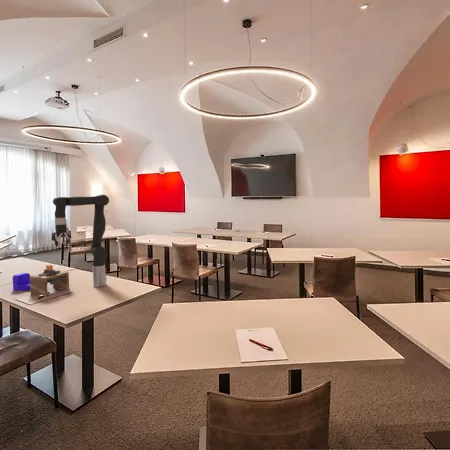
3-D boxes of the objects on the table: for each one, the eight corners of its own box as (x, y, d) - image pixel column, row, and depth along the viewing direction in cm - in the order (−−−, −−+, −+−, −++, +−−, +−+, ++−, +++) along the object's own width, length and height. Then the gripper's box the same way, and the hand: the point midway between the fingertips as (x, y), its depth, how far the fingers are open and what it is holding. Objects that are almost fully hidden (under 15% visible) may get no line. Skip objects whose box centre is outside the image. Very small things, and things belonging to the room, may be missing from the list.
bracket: (13, 290, 229) (12, 275, 228) (26, 286, 240) (25, 272, 239) (30, 292, 224) (29, 277, 223) (43, 288, 234) (42, 273, 233)
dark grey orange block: (48, 281, 228) (47, 264, 227) (56, 283, 224) (55, 265, 223) (43, 283, 224) (42, 265, 223) (51, 284, 221) (50, 266, 219)
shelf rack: (55, 287, 237) (54, 268, 236) (69, 289, 231) (68, 270, 229) (30, 294, 219) (29, 274, 217) (45, 297, 212) (44, 276, 211)
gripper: (65, 222, 226) (67, 243, 227) (48, 224, 213) (49, 246, 214) (72, 223, 223) (74, 244, 224) (55, 224, 210) (56, 247, 211)
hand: (62, 245), depth 219 cm, fingers open, 8 cm apart
